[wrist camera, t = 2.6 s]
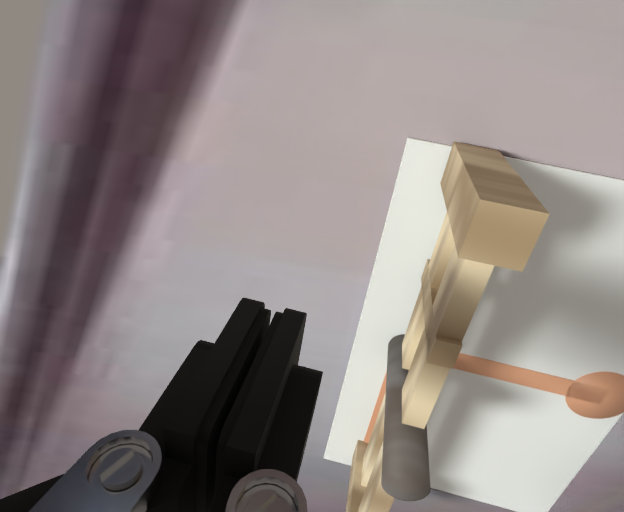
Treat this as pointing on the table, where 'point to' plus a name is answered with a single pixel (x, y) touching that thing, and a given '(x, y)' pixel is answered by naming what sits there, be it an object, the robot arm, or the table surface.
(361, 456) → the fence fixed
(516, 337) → the card
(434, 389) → the fence gate
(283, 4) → the table surface
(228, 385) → the robot arm
